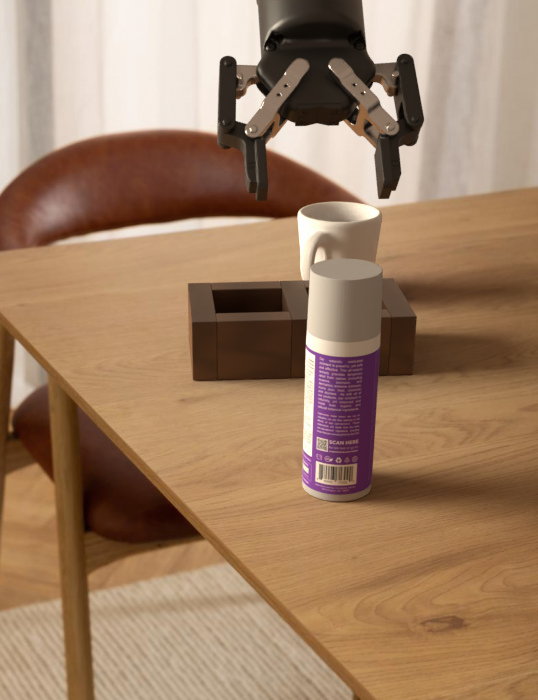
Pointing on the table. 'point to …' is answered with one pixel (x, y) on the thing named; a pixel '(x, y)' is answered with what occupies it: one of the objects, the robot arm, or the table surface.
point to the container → (341, 378)
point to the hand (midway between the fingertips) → (324, 194)
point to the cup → (337, 233)
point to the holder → (278, 330)
